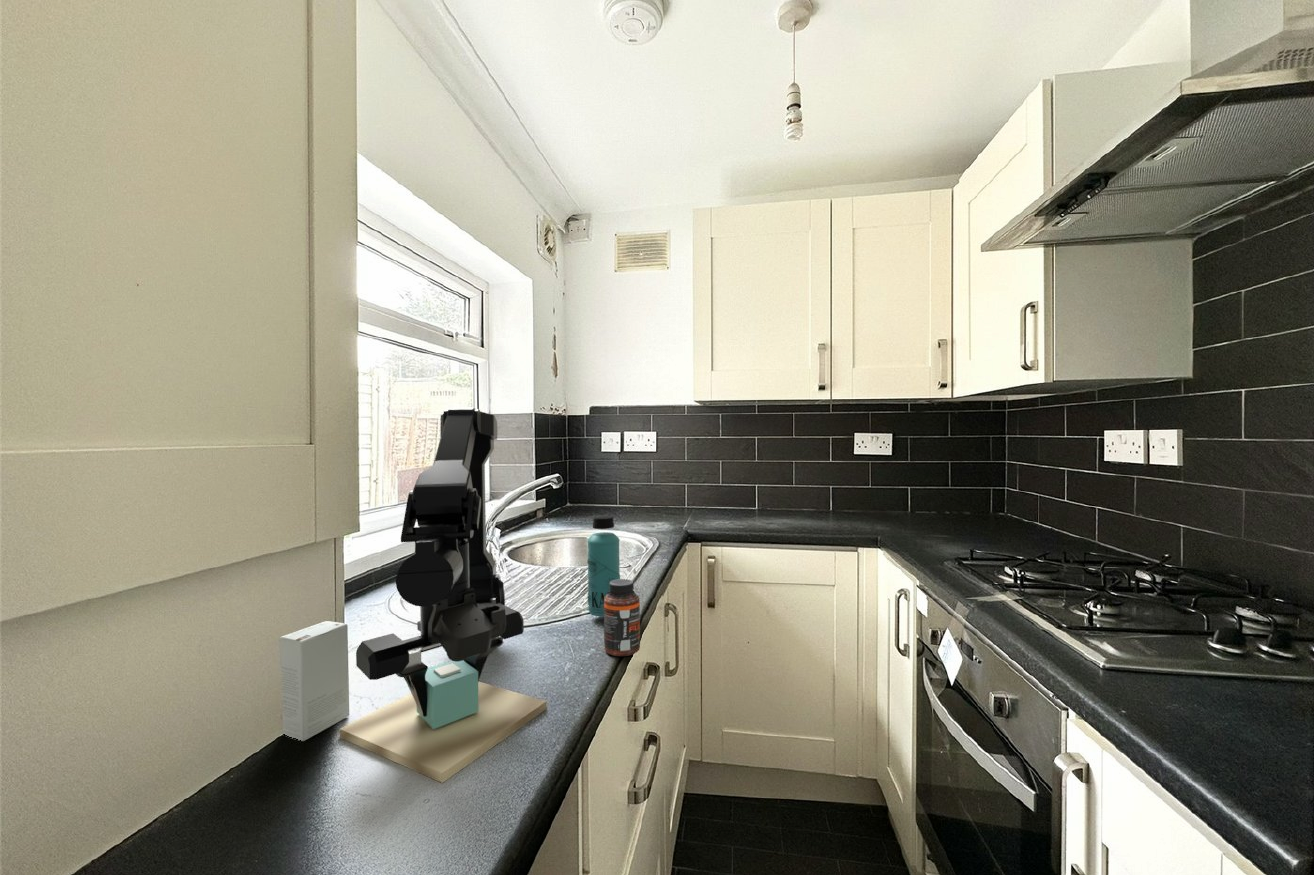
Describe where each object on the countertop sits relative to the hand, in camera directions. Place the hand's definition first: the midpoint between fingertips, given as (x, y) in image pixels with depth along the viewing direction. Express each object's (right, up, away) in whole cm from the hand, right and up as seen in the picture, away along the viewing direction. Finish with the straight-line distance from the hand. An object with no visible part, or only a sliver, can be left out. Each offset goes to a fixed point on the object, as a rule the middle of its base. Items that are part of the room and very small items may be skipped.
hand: (447, 706), depth 64 cm
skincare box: (-16, -3, 0) cm, 16 cm away
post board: (0, -2, 0) cm, 2 cm away
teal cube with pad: (0, -1, 0) cm, 1 cm away
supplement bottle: (+20, -2, +21) cm, 29 cm away
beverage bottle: (+16, -2, +36) cm, 39 cm away
